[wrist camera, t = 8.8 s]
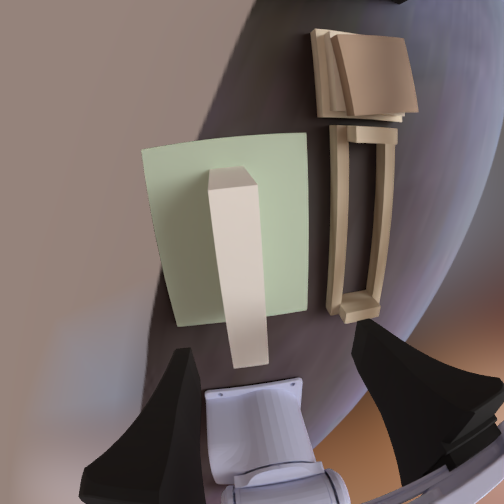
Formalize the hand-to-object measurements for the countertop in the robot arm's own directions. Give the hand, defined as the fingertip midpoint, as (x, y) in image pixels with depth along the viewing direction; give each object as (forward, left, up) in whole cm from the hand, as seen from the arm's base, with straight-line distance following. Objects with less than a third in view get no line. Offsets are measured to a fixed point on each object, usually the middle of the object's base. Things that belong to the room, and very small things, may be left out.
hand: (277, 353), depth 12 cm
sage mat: (-1, +2, -9) cm, 10 cm away
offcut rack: (+8, +5, -9) cm, 13 cm away
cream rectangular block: (-1, +1, -9) cm, 9 cm away
